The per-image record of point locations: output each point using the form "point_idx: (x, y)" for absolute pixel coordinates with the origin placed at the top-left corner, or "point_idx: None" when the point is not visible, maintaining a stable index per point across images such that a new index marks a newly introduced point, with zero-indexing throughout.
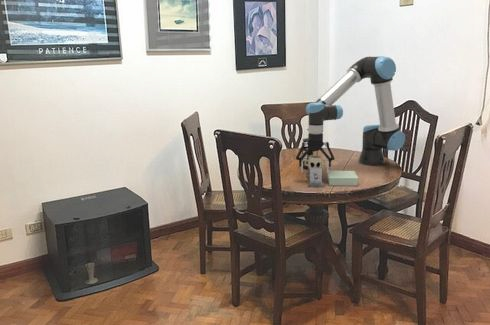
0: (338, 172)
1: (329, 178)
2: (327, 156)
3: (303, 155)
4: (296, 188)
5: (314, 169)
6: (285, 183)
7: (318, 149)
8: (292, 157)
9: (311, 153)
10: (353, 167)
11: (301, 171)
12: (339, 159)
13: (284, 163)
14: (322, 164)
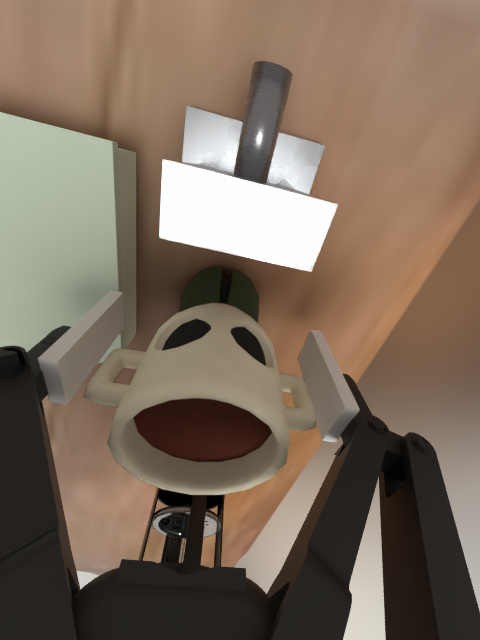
0: (30, 312)
1: (111, 141)
2: (7, 420)
3: (369, 479)
4: (436, 109)
5: (274, 187)
6: (427, 270)
7: (106, 603)
8: (226, 542)
9: (171, 550)
10: None
11: (324, 339)
12: (69, 518)
13: (273, 509)
14: (135, 361)
